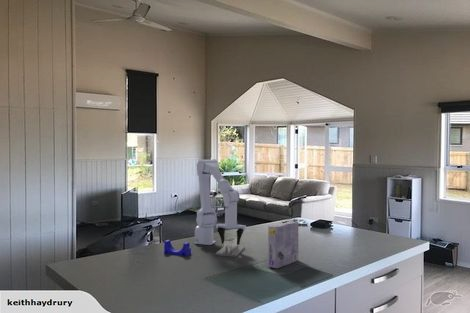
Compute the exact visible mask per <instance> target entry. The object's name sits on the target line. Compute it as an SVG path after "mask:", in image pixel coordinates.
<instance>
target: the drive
mask: <svg viewBox="0 0 470 313" xmlns="http://www.w3.org/2000/svg"><path fill="white" fill-rule="evenodd" d="M223 247H225V248H226V252H228V248H230V252H233V251H234V250H235V249H236V248H237V237H232V236H231V237H230V236H229V237H228V238H226V239H225V241H224V243H223Z"/></svg>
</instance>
